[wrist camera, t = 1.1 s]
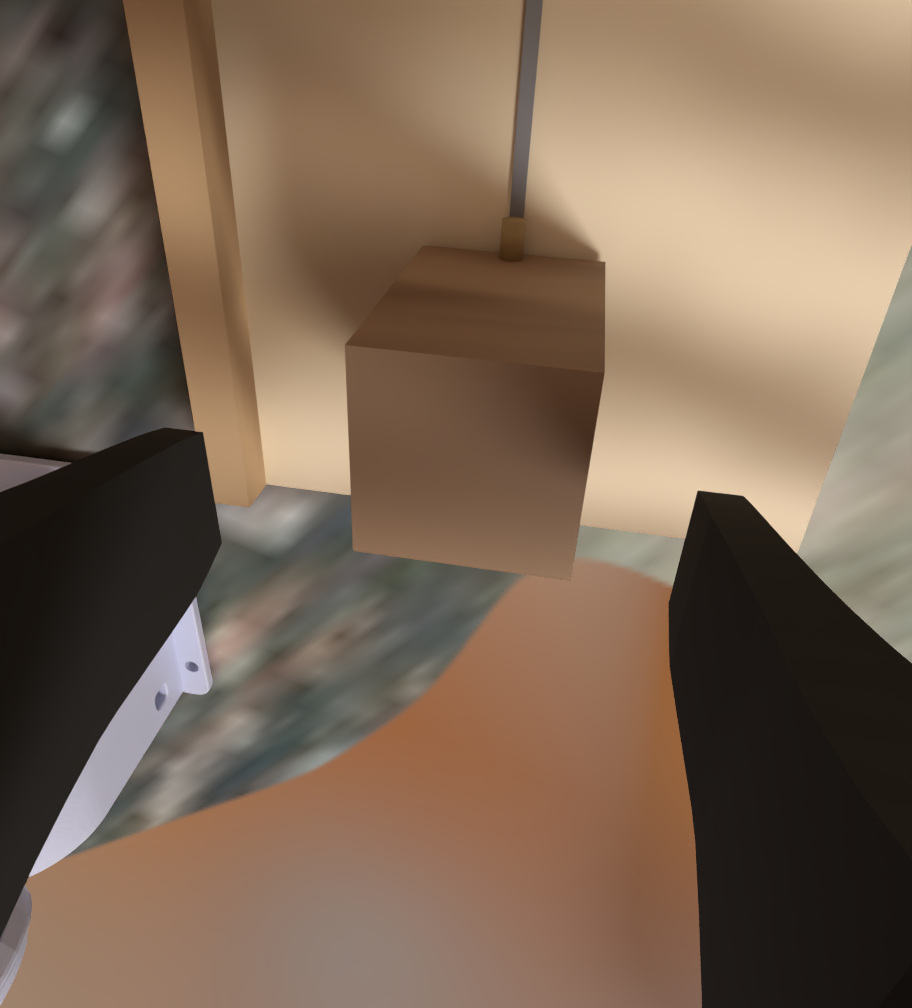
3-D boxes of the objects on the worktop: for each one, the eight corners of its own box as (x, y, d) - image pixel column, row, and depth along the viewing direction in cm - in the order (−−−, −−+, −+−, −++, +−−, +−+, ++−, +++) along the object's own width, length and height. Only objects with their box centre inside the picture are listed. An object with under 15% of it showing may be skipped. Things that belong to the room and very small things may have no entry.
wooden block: (580, 427, 18) (570, 580, 13) (420, 408, 19) (353, 550, 14) (611, 222, 16) (613, 320, 11) (423, 207, 16) (342, 294, 11)
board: (785, 521, 21) (807, 582, 19) (234, 451, 23) (193, 499, 20) (1338, -1061, 9) (1596, -1439, 6) (42, -935, 10) (-112, -1193, 8)
